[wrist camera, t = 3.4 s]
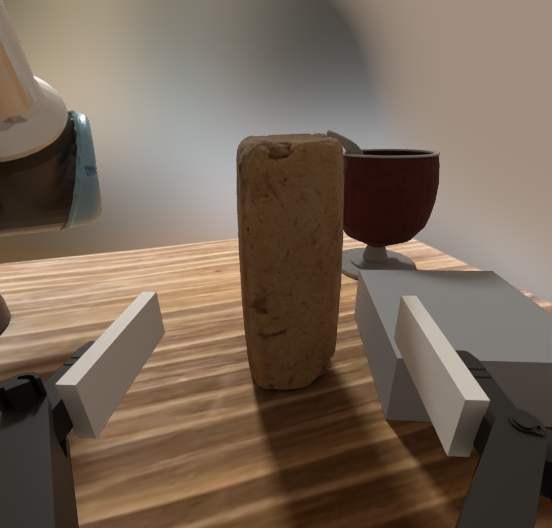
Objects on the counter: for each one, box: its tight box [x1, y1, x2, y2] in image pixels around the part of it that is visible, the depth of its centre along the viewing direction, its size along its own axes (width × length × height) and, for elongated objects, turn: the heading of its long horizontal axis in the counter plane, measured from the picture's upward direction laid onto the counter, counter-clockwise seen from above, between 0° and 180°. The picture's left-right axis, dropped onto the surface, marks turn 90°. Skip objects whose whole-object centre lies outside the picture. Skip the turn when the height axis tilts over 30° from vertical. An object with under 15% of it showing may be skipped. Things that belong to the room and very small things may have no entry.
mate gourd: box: [326, 130, 440, 280], centre depth 44 cm, size 16×14×20 cm
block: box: [237, 133, 344, 390], centre depth 26 cm, size 11×8×20 cm
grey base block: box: [354, 270, 552, 427], centre depth 28 cm, size 14×14×6 cm
